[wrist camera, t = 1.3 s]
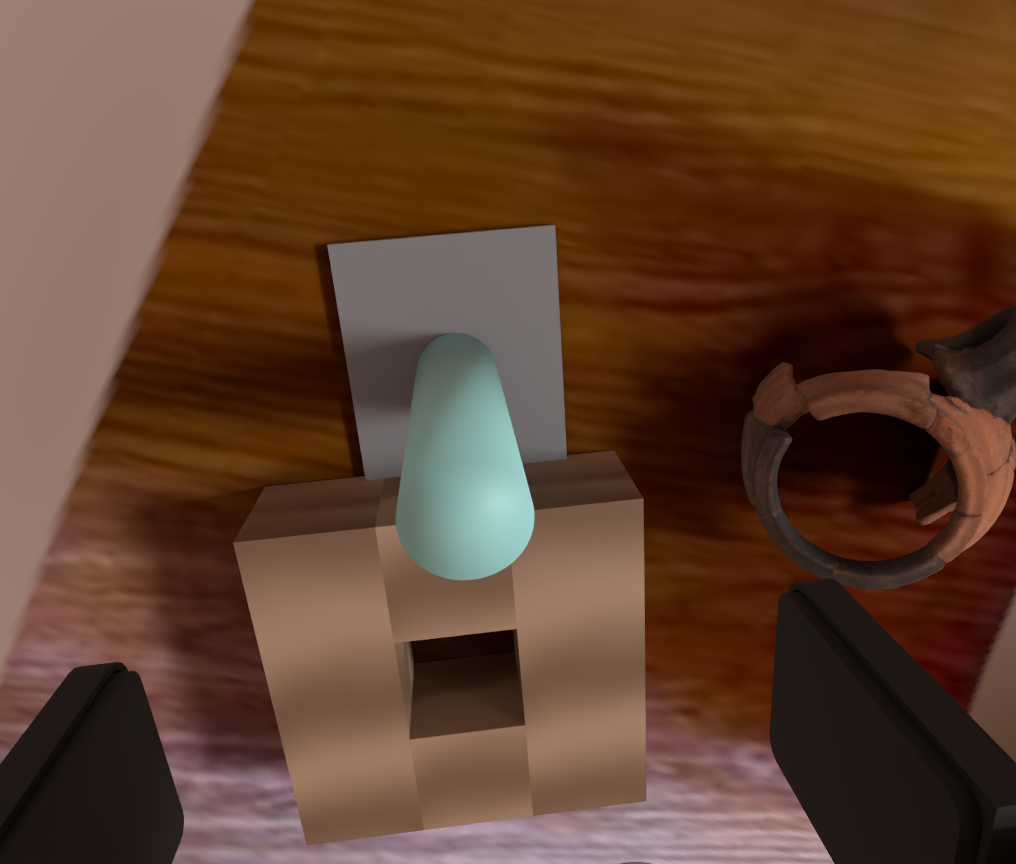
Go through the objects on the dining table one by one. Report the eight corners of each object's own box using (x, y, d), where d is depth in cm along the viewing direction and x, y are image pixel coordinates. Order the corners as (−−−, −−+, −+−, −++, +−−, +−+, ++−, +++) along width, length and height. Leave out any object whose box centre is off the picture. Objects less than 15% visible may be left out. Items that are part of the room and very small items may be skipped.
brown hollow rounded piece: (885, 555, 32) (888, 661, 25) (713, 430, 34) (672, 498, 27) (1121, 346, 26) (1211, 410, 19) (896, 206, 28) (905, 219, 21)
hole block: (264, 486, 28) (233, 542, 24) (614, 450, 28) (643, 498, 24) (324, 758, 33) (307, 845, 28) (621, 721, 33) (646, 801, 29)
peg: (411, 336, 26) (386, 463, 15) (493, 329, 26) (529, 449, 15) (421, 413, 27) (405, 587, 16) (499, 405, 27) (538, 572, 16)
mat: (328, 243, 25) (327, 244, 24) (553, 224, 25) (555, 225, 25) (370, 498, 28) (369, 502, 28) (566, 477, 29) (568, 481, 28)
